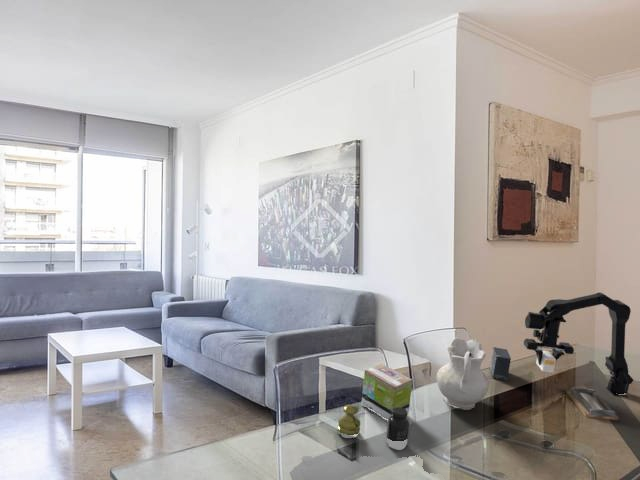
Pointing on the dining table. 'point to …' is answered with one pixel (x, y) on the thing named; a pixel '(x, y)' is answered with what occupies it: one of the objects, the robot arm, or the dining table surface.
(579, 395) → the rail mount
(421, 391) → the dining table surface
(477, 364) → the ceramic pitcher
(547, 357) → the block
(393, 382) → the tea box
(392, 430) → the supplement bottle
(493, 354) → the small box
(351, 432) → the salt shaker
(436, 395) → the dining table surface
